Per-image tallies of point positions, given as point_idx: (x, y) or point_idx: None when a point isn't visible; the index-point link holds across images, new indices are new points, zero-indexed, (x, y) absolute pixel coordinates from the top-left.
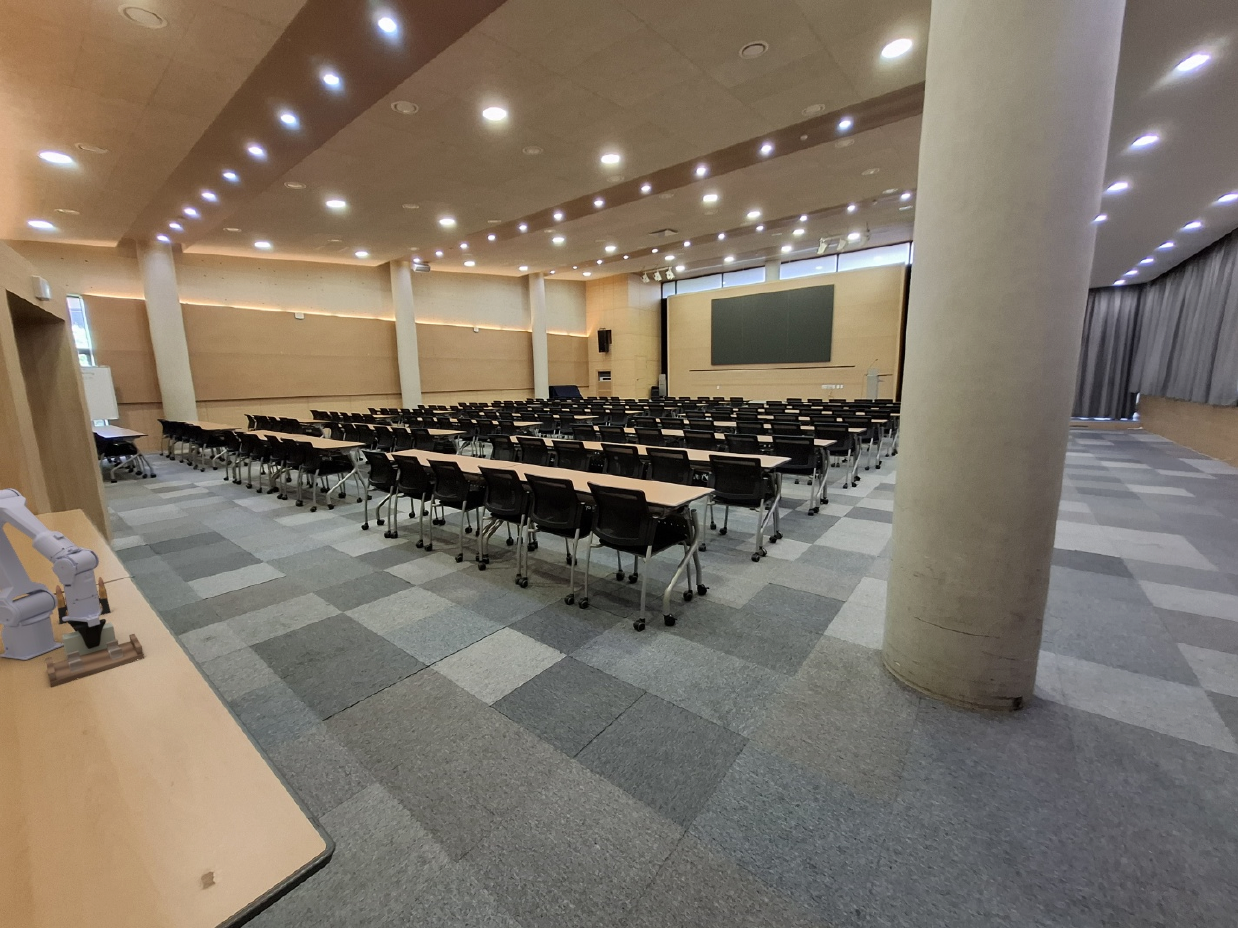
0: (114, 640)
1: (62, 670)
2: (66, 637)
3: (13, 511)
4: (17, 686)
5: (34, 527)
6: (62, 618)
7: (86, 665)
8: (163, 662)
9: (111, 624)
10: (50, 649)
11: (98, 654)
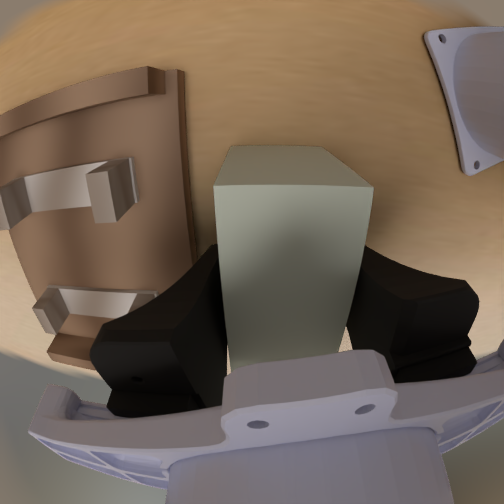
0: None
1: (51, 144)
2: (256, 206)
3: None
4: (87, 5)
5: None
6: (328, 394)
7: (45, 220)
8: (26, 340)
9: None
10: (455, 122)
11: (136, 261)
